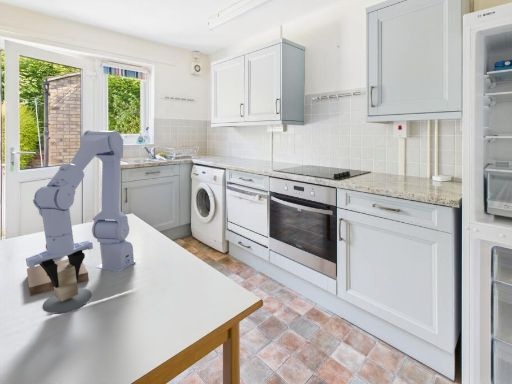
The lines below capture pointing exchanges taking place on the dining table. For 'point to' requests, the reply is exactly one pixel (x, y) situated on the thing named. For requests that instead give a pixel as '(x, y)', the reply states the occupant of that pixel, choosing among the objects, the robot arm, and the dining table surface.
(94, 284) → the dining table surface
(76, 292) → the peg
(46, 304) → the coaster
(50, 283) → the pocket block
